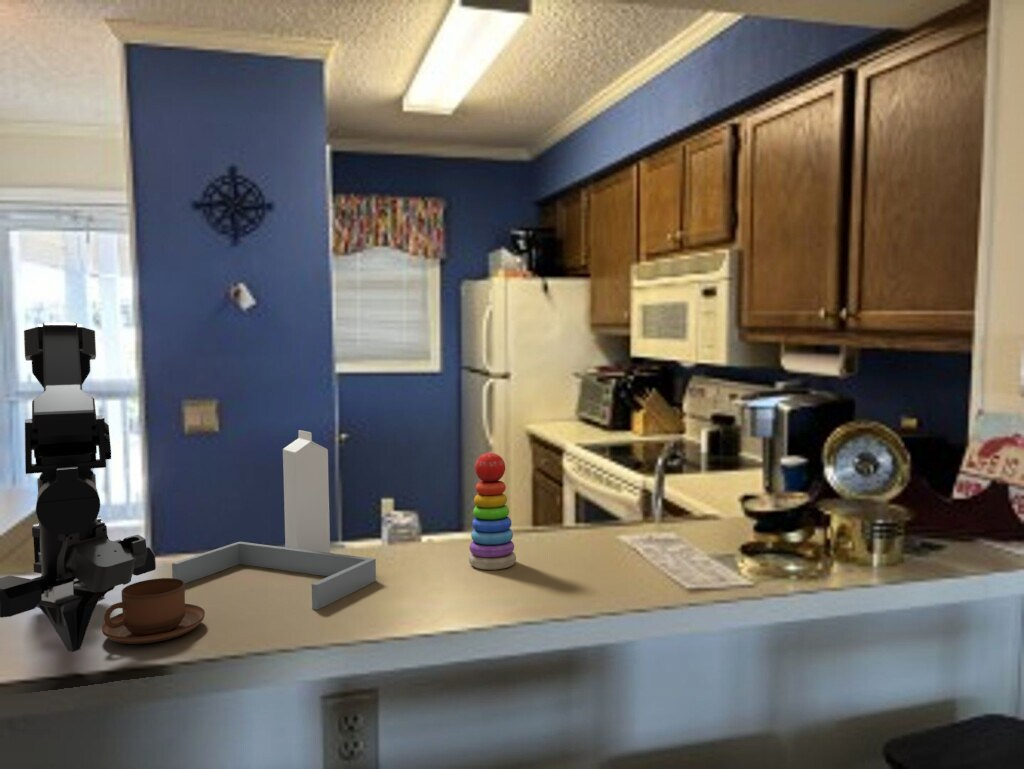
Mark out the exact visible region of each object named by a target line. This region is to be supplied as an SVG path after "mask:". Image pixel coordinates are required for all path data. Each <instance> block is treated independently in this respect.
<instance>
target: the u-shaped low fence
mask: <svg viewBox="0 0 1024 769" xmlns="http://www.w3.org/2000/svg"><path fill="white" fill-rule="evenodd" d="M376 564H377V563H376V558H374V557H373V558H372V557H366V556H365V557H364V556H355V555H348V554H341V553H334V552H330V553H326V552H318V551H310V550H302V549H294V548H286V547H285V546H277V545H270V544H260V543H254V542H245V541H238V542H233V543H231V544H228V545H225V546H221V547H218V548H216V549H215V548H214V549H212V550H209V551H206V552H203V553H199V554H196V555H193V556H190V557H186V558H184V559H181V560H178V561H174V562H172V563H171V569H172V570H171V573H172V574H171V575H172V577H171V578H175V579H180V580H182V581H184V583H185V584H188V583H190V582H191V583H192V582H193V581H197V580H199V579H201V578H204V577H205V578H206V577H208V576H210V575H213V574H216V573H218V572H219V573H220V572H221V571H224V570H227V569H230V568H232V567H235V566H238V565H246V566H253V567H260V568H267V569H274V570H281V571H288V572H295V573H302V574H310V575H316V576H317V575H318V576H322V577H323V576H324V578H321V579H320V580H317V581H316V582H313V583H311V609H312V610H320V609H323V608H324V607H326V606H329V605H331V604H333V603H334V602H337V601H339V600H341V599H342V598H344V597H347V596H348V595H350V594H352V593H353V594H354V592H356V591H359V590H361V589H362V588H364V587H367V586H368V585H371V584H373V583H375V582H377V565H376Z"/></svg>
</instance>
